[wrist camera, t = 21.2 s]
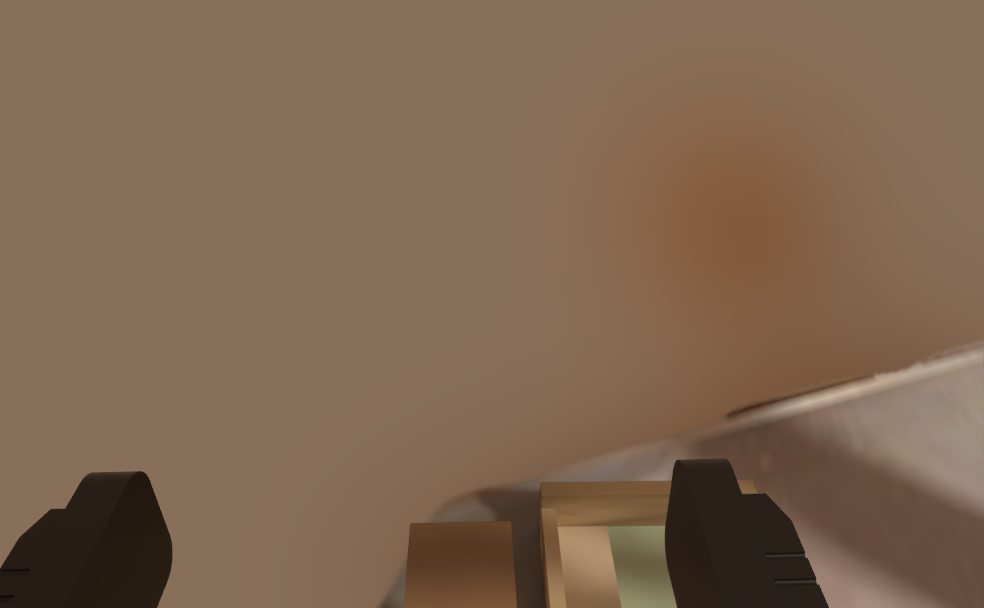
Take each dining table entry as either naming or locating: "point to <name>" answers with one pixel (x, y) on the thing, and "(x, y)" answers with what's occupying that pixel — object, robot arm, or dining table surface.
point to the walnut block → (460, 565)
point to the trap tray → (607, 543)
